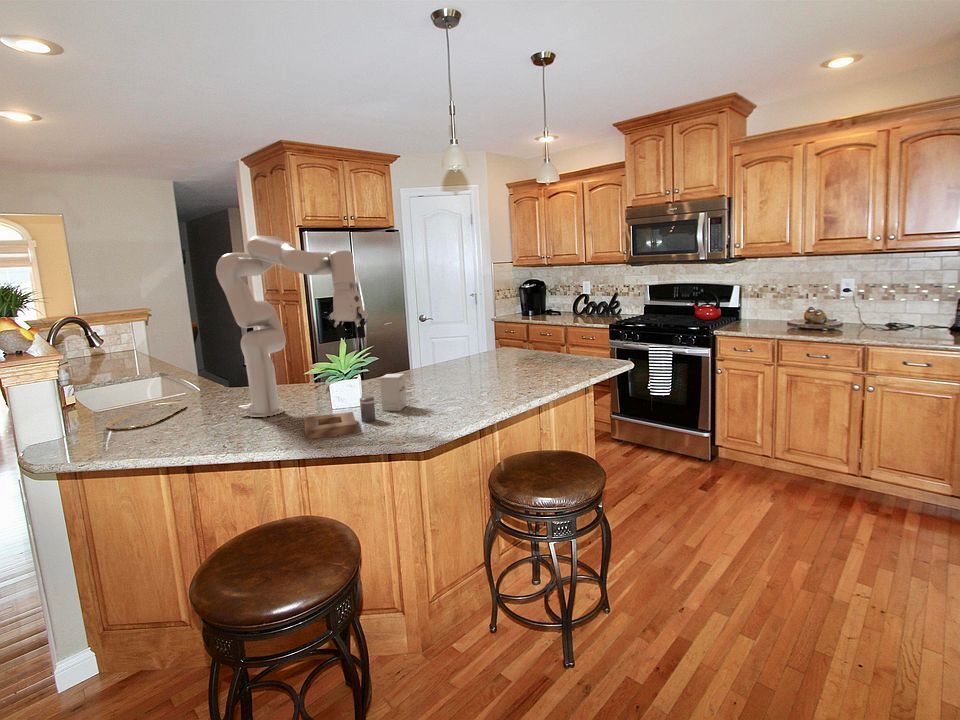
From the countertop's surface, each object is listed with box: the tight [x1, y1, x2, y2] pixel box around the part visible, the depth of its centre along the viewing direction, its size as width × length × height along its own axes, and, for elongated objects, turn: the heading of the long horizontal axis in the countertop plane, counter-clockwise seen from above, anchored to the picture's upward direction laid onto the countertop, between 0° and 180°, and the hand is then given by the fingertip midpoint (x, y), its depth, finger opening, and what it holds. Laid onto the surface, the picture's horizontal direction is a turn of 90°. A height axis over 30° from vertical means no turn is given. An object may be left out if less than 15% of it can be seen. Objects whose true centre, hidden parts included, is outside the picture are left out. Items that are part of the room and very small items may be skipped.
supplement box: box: [379, 373, 407, 412], centre depth 199 cm, size 7×7×13 cm
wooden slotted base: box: [304, 411, 359, 440], centre depth 176 cm, size 16×16×3 cm
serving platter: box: [105, 401, 188, 431], centre depth 205 cm, size 19×35×2 cm, turn 3°
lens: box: [359, 395, 377, 424], centre depth 184 cm, size 5×5×8 cm
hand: (351, 337), depth 183 cm, fingers open, 9 cm apart
